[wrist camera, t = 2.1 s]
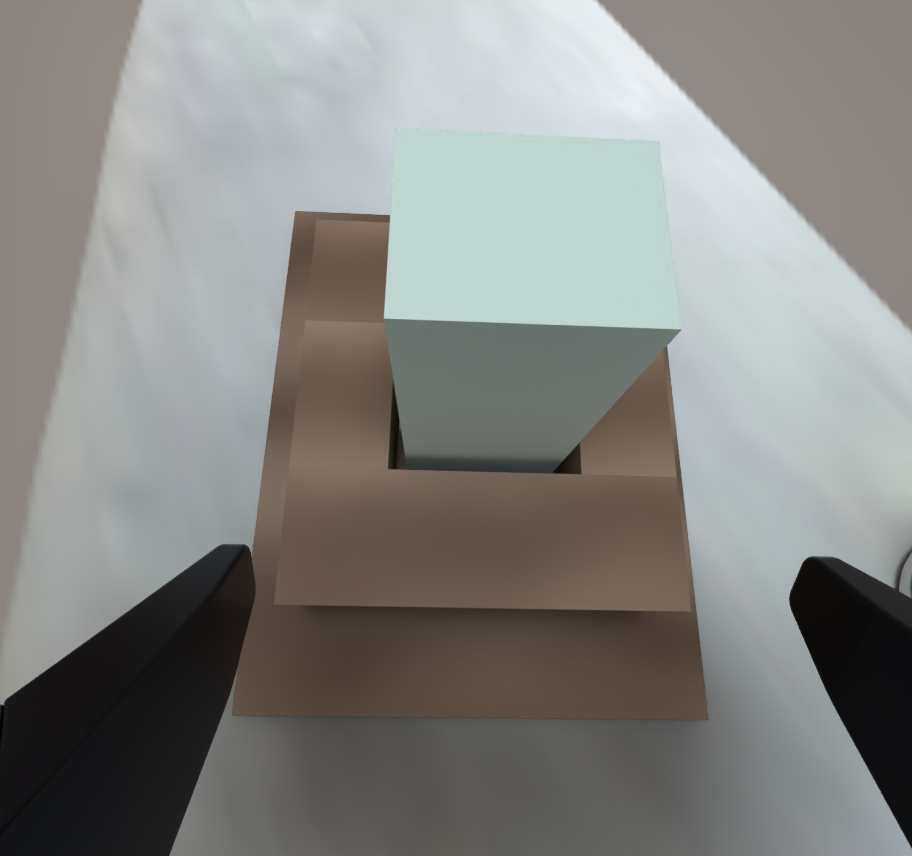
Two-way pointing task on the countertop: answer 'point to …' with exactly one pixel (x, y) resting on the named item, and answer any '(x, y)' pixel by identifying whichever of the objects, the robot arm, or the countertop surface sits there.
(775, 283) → the countertop surface
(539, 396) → the stub
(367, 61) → the countertop surface
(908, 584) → the supplement bottle
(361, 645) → the brown stepped stand
